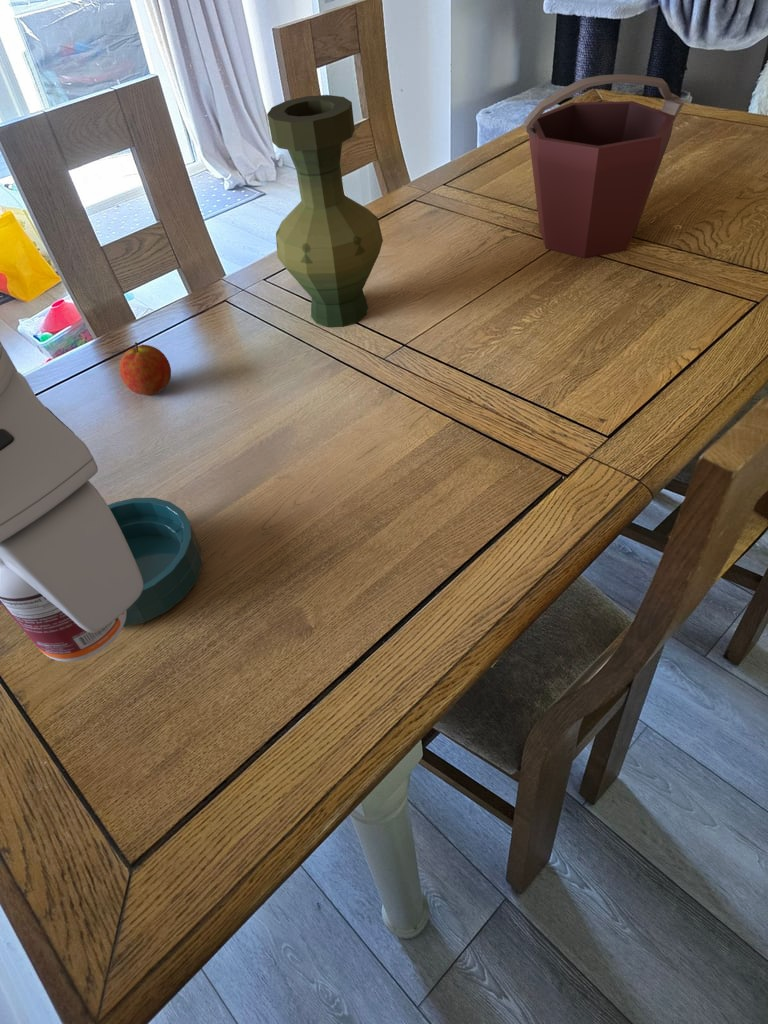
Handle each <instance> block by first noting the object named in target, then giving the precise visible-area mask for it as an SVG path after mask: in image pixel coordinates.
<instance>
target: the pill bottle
mask: <svg viewBox="0 0 768 1024" xmlns="http://www.w3.org/2000/svg"><path fill="white" fill-rule="evenodd" d="M0 605H1V606H2V607H3V608H4V609H5V611H6V612H7V613H8V614H9V616H10V617H11V618H12V619H13V620H14V621H15V623H16V624H17V625H18V626H19V627H20V629H21V630H22V631H23V632H24V633H25V634H26V635H27V637H28V639H30V640H31V642H33V644H34V645H35V646H36V647H37V648H38V650H39V651H40V652H41V653H42V654H44V655H45V656H47V657H48V658H50V659H52V660H53V661H58V662H65V663H69V662H70V663H71V662H77V661H78V662H79V661H82V660H86V659H88V658H90V657H93V656H95V655H97V654H99V653H101V652H102V651H103V650H105V649H106V648H108V647H109V646H110V645H111V644H112V643H114V641H116V639H117V638H118V636H119V635H120V634H121V632H122V630H123V628H124V627H123V625H124V623H125V620H126V613H127V612H126V611H125V612H124V613H122V614H121V615H120V616H119V617H118V618H116V619H115V620H114V621H113V622H111V623H110V624H109V625H107V626H106V627H104V628H103V629H102V630H100V631H98V632H96V633H90V632H87V631H85V630H83V629H82V628H81V627H79V626H78V625H77V624H76V623H75V622H74V621H73V620H72V619H71V618H69V617H68V616H67V615H66V614H65V613H63V612H62V611H61V610H60V609H59V608H57V607H56V606H55V605H54V604H52V603H51V602H50V601H49V600H48V599H46V598H45V597H44V596H43V595H42V594H40V593H39V592H38V591H37V590H35V589H34V588H33V587H32V586H31V585H29V584H28V583H27V582H26V581H24V580H23V579H22V578H21V577H20V576H18V575H17V574H16V573H15V572H14V571H12V570H11V569H10V568H9V567H7V566H6V565H5V564H4V562H3V560H2V559H1V558H0Z"/></svg>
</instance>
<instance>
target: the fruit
mask: <svg viewBox="0 0 768 1024" xmlns="http://www.w3.org/2000/svg"><path fill="white" fill-rule="evenodd" d="M134 345H135V346H134V347H132V348H130V349H128V350H126V351H125V353H123V355H122V357H121V359H120V362H119V375H120V377H121V380H122V382H123V384H124V385H125V386H126V388H127V389H128V390H130V391H131V392H133V393H136V394H137V395H142V396H146V397H147V396H148V397H151V396H155V395H158V393H160V392H161V391H163V390H164V389H165V388H166V387H167V386H168V384H169V383H170V381H171V379H172V378H171V377H172V368H171V364H170V362H169V360H168V358H167V356H166V355H165V354H164V353H163V352H162V351H161V349H158V348H157V347H155V346H152V345H149V344H140V345H138V342H134Z"/></svg>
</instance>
